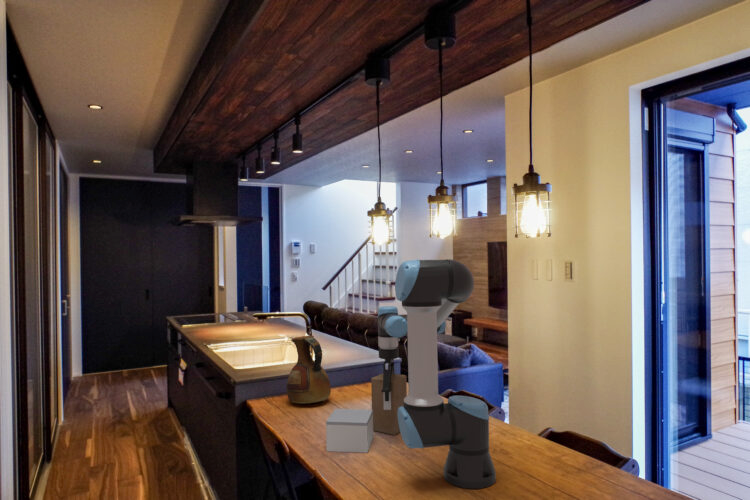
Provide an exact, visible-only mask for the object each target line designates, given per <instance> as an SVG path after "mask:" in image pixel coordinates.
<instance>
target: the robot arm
mask: <svg viewBox="0 0 750 500" xmlns="http://www.w3.org/2000/svg"><path fill="white" fill-rule="evenodd" d="M474 288H475V279H474V276H473V273H472V272H471V270H470V268H468V266H467V265H465V264H464V263H462V262H461V261H459V260H456V259H446V258H445V259H412V260H405V261H403V262H401V263H400V265H399V266H398V269H397V272H396V276H395V282H394V292H395V299H396V300H397V301H399V302H401V308H403V310H405V311H406V314H399V310H398V307H397V306H394V305H390V306H389V305H386V306H385V305H383V306H379V308H378V309H377V310H378V311H377V321H378V322H377V324H378V325H377V328H378V329H377V330H378V336H377V337H378V338H377V340H378V341H377V343H378V357H379V359H381V360H384V361H383V362H382V363H383V364H382V368H383V372H382V373H383V390H381V392H383V399H384V410H391V390H390V388H391V386H390V381H391V375H392V374H396V373H395V361H394V360H396V359H398V358H399V342H400V341H401V340H400V338H402V337H404V336H406V337H407V366H408V367H407V369H408V370H407V371H408V373H407V375H408V376H407V378H408V380H407V381H408V394H407V396H406V397H405V398H404V407H403V406H401V407H399V408H398V413H397V415H398V423H399V428H400V432H399V433H400V435H401V438H402V441H403V442H404V445H405V446H406V447H407V448H409V449H424V448H425V449H426V448H434V447H435V448H436V447H445V446H448V447H449V448H448V449H449V450H448V454H447V456H446V459H445V463H444V466H443V478H444V479H445V481H446V482H447V483H449V484H450V485H453V486H456V487H458V488H463V489H470V490H471V489H472V490H473V489H475V490H476V489H477V490H478V489H484V488H488V487H490V486H492V485H494V483H496V480H497V479H496V478H497V476H496V469H495V466H494V463H493V460H492V457H491V454H490V425H489V424H490V417H489V407H488V405H487V403H486V402H485V401H483V400H481V399H478V398H476V397H472V396H468V395H452V396H449V397H448V400H447V402H446V403H445V402H444V401H445V400H444V398H443V397H442V396H441V395H440V394H439V373H438V372H439V367H438V364H439V363H438V362H439V360H438V334H443V333H444V332H445V330H446V325H447V324H446V320H447V318H448V317H449V316H450V315H451V313H453V311H454V310H455V309H456V308H457V307H458V306H459V304H463V303H465V302H466V301H467V300H468V299H469V298H470V297H471V295H472V294H473V292H474Z"/></svg>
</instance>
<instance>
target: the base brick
mask: <svg viewBox="0 0 750 500" xmlns="http://www.w3.org/2000/svg"><path fill="white" fill-rule="evenodd" d="M325 424H326V425H325V428H326V429H325V431H326V432H325V433H326V435H325V436H326V440H325V442H326V443H325V445H326V452H339V453H342V452H343V453H360V454H361V453H362V454H363V453H365V454H368V452H369V450H370V448H371V444H372V442H373V439H374V431H373V410H372V409H355V408H353V409H351V408H334V410H333V411H332V413H331V414H330V415H329V417H328V418H327V420H326V421H325Z"/></svg>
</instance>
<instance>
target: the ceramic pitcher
mask: <svg viewBox="0 0 750 500" xmlns="http://www.w3.org/2000/svg"><path fill="white" fill-rule="evenodd" d="M291 342H293V344H294V346H295V347H296V352H297V361H296V364H295V365H294V366H293V367H292V368H291V370H290V372H289V375H288V378H287V382H286V383H287V384H286V396H287V399H288V401H290V402H291V403H295V404H312V403H319V402H325V401H326V400H328V398H330V396H331V394H332V393H331V392H332V386H331V382H330V381H331V380H330V378H329V375H328V373H327V371H325V369H324V367H322V366H321V365H322V359H323V350H322V347H321V344H320V342H319V341H318V340H317V339H316V338H315V336H314V335H304V336H303V335H302V336H295V337H293V338H291ZM311 348H312V351H313V355H314V360H313V357H312V354H311Z"/></svg>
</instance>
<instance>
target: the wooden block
mask: <svg viewBox="0 0 750 500" xmlns="http://www.w3.org/2000/svg"><path fill="white" fill-rule="evenodd" d="M370 380H371V382H370V383H371V388H370V389H371V410H373V432H377V433H381V434H386V435H392V436H396V435H397V434H399V433H401V432H400V428H399V423H398V415H397V413H398V408H399V407H401V406H403V407H404V398H405V397H406V396H407V395H408V394H407V393H408V392H407V389H408V388H407V385H408V384H407V375H405V374H398V373H395V374H392V375H391V381H390V386H391V388H390V390H391V410H384V399H383V392H381V390H383V372H382V373H380V374H378V375H375V376H374V377H371V378H370Z"/></svg>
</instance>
